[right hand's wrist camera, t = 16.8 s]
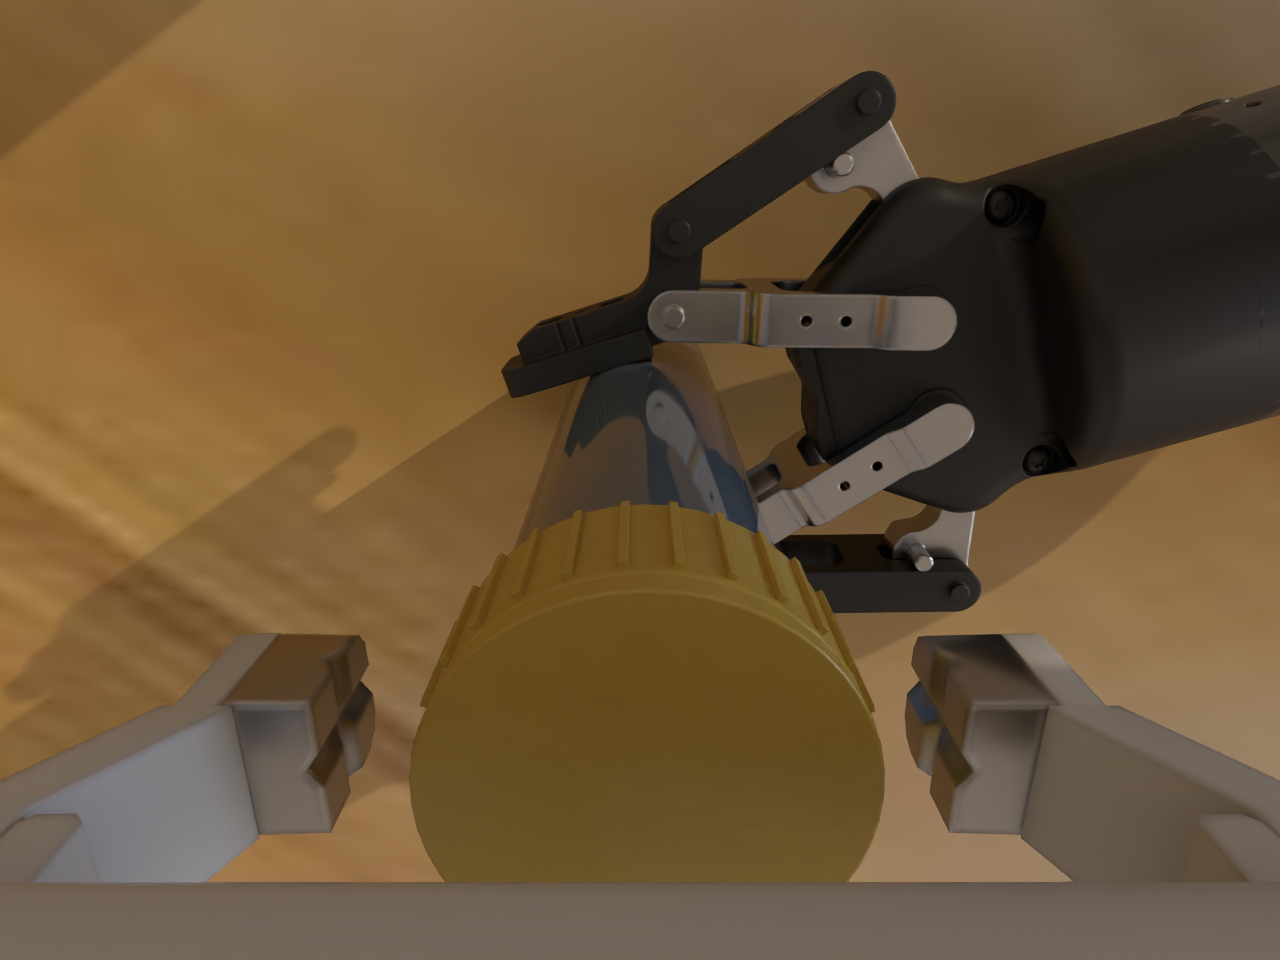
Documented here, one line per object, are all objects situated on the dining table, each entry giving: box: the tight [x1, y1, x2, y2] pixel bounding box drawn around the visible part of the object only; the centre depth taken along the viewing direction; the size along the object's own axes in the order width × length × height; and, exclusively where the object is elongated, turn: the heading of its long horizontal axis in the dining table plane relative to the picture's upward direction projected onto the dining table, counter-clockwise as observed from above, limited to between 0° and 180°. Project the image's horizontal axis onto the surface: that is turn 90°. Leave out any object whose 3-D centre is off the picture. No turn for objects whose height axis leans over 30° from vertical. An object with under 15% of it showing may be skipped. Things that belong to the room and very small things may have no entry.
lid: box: [409, 501, 885, 882], centre depth 9 cm, size 5×5×2 cm
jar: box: [514, 342, 775, 549], centre depth 18 cm, size 4×4×19 cm
